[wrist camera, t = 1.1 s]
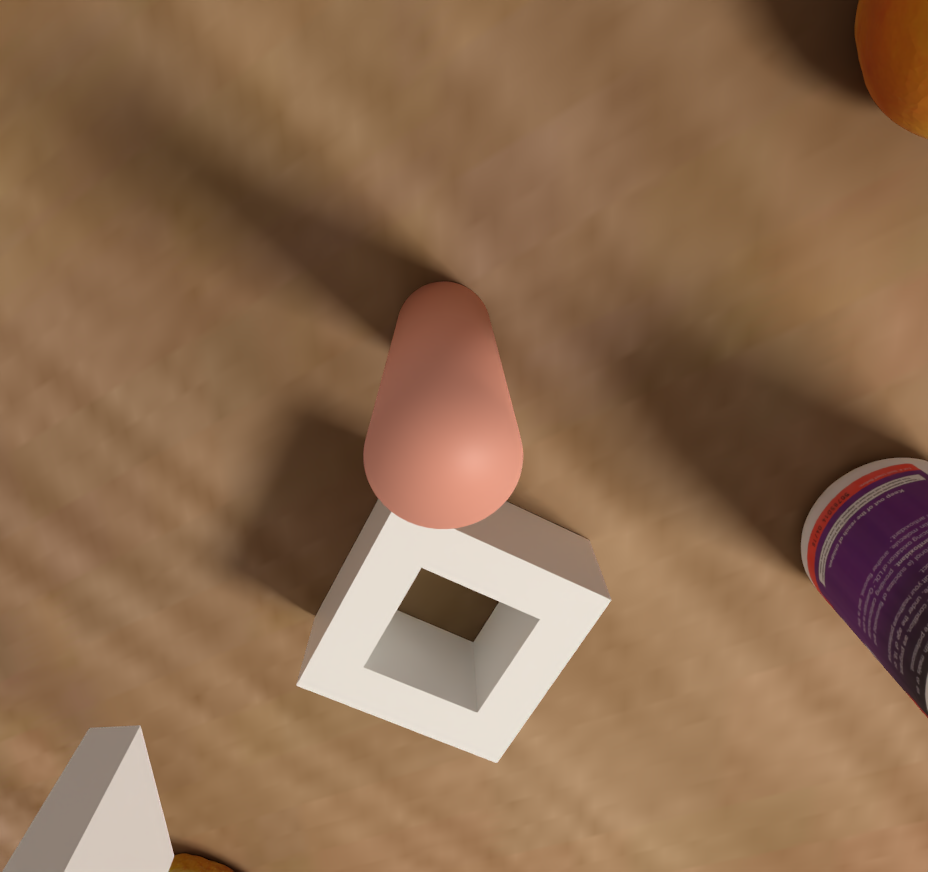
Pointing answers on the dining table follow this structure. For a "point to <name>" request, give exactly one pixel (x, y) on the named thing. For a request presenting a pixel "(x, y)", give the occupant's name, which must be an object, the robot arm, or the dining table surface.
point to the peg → (443, 414)
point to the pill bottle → (877, 563)
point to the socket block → (443, 653)
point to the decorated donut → (196, 864)
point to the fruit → (895, 59)
